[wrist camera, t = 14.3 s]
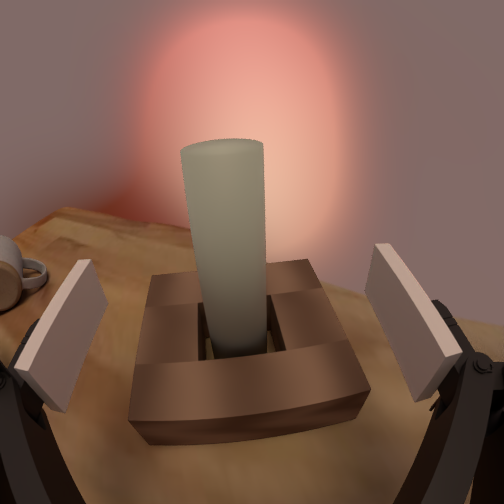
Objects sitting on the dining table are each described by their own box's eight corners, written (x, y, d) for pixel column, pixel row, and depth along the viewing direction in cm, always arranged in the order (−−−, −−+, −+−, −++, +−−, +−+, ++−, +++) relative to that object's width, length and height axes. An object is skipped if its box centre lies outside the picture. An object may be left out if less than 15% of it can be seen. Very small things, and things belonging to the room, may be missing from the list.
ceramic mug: (-11, 324, 24) (-39, 272, 20) (-11, 292, 29) (-32, 246, 25) (54, 290, 30) (32, 235, 26) (45, 264, 35) (29, 216, 31)
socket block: (304, 292, 29) (307, 258, 27) (355, 418, 17) (371, 389, 15) (161, 308, 27) (151, 275, 25) (149, 445, 16) (128, 420, 14)
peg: (262, 338, 24) (256, 136, 16) (271, 377, 21) (270, 152, 12) (214, 344, 24) (183, 143, 15) (217, 383, 20) (176, 160, 12)
